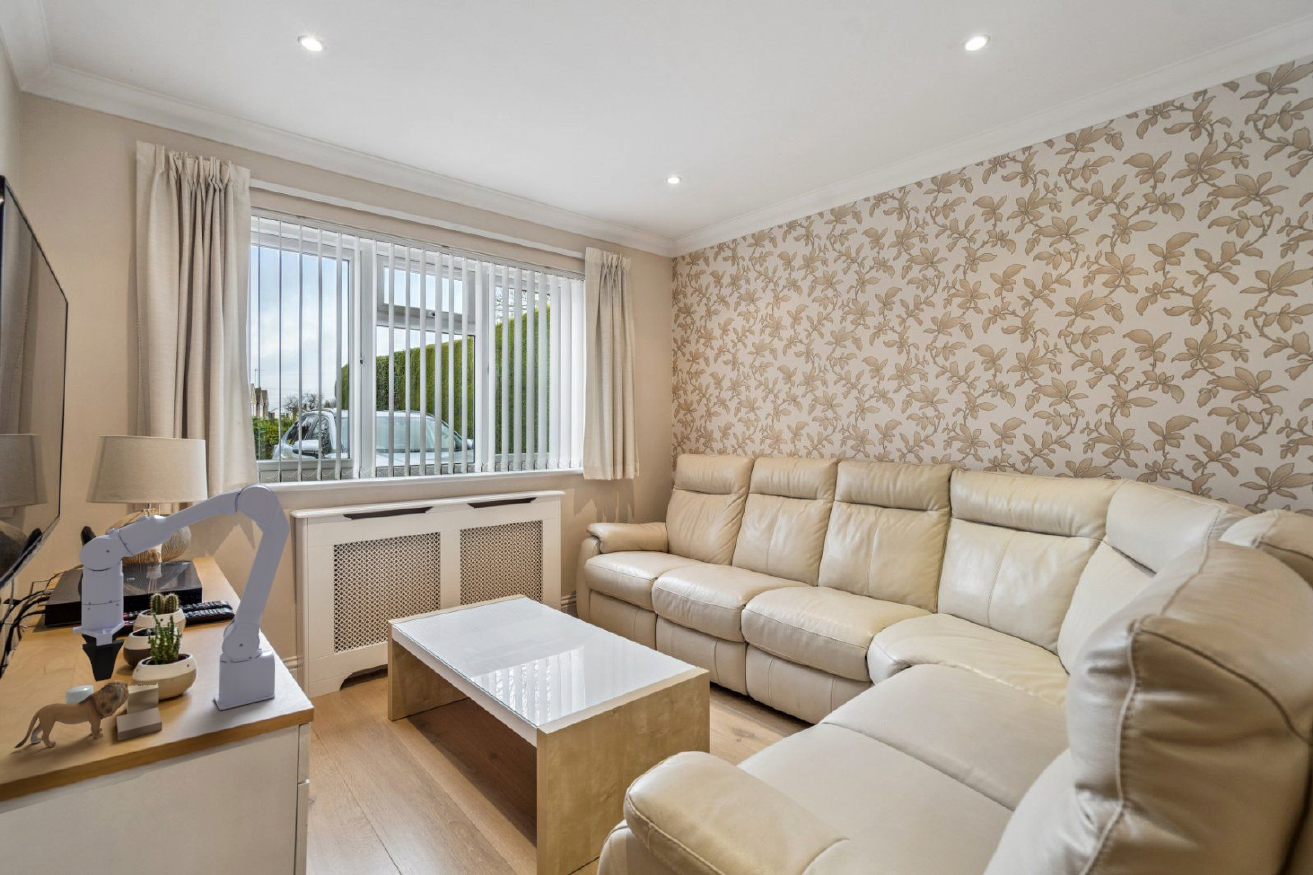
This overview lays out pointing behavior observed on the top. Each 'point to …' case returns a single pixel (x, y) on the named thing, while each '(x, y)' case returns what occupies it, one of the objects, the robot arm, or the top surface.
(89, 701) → the lion figurine
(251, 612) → the robot arm
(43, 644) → the top surface
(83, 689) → the silver rounded block
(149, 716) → the plinth
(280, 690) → the top surface
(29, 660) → the top surface
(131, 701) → the oak block
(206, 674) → the top surface
